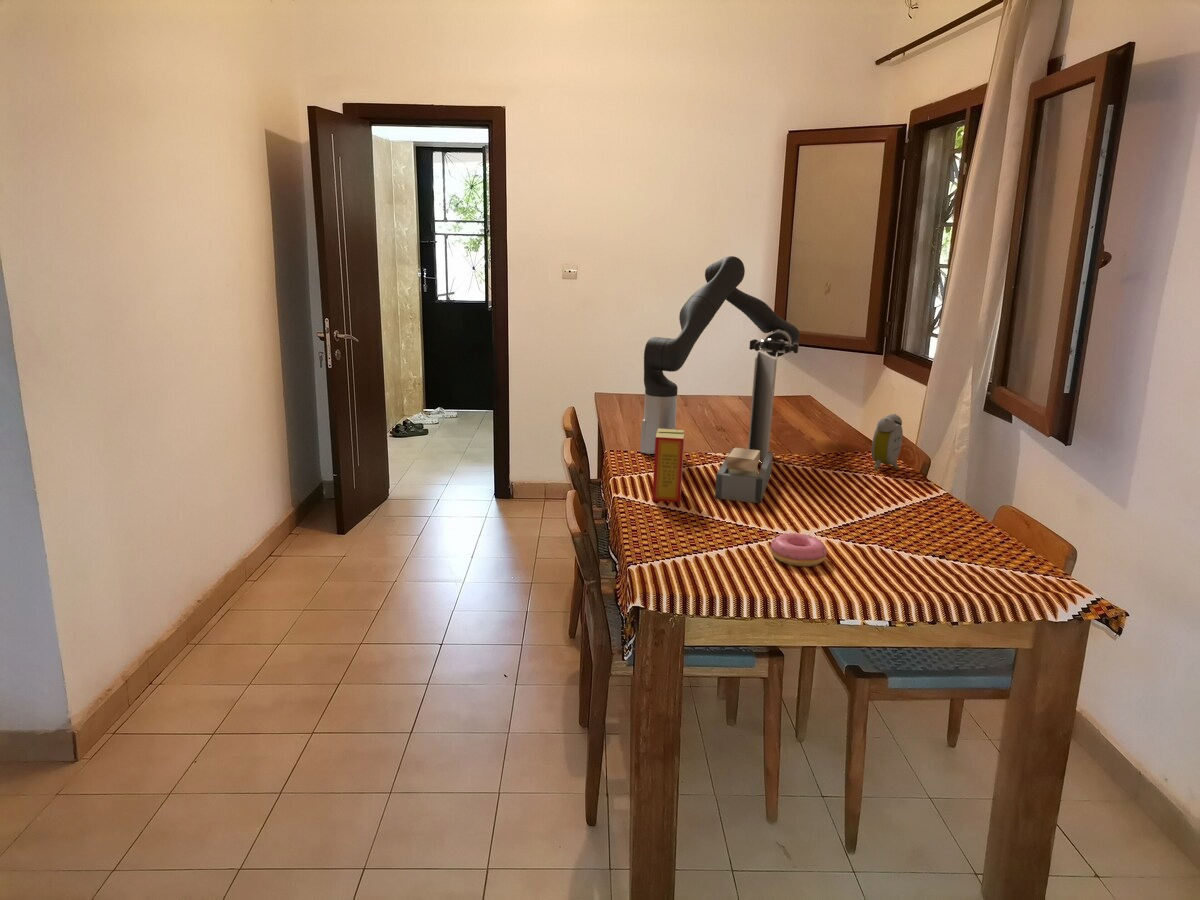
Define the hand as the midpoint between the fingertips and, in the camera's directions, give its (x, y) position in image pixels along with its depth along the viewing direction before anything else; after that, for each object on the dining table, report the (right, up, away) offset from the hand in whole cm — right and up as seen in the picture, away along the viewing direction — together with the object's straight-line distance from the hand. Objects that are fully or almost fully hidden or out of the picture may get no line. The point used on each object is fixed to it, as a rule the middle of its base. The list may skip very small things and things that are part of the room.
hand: (771, 348), depth 239 cm
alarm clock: (+30, -35, -9) cm, 47 cm away
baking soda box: (-34, -41, -40) cm, 67 cm away
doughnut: (-11, -51, -76) cm, 93 cm away
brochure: (-5, -33, -5) cm, 33 cm away
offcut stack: (-15, -40, -36) cm, 56 cm away
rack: (-13, -39, -30) cm, 50 cm away
